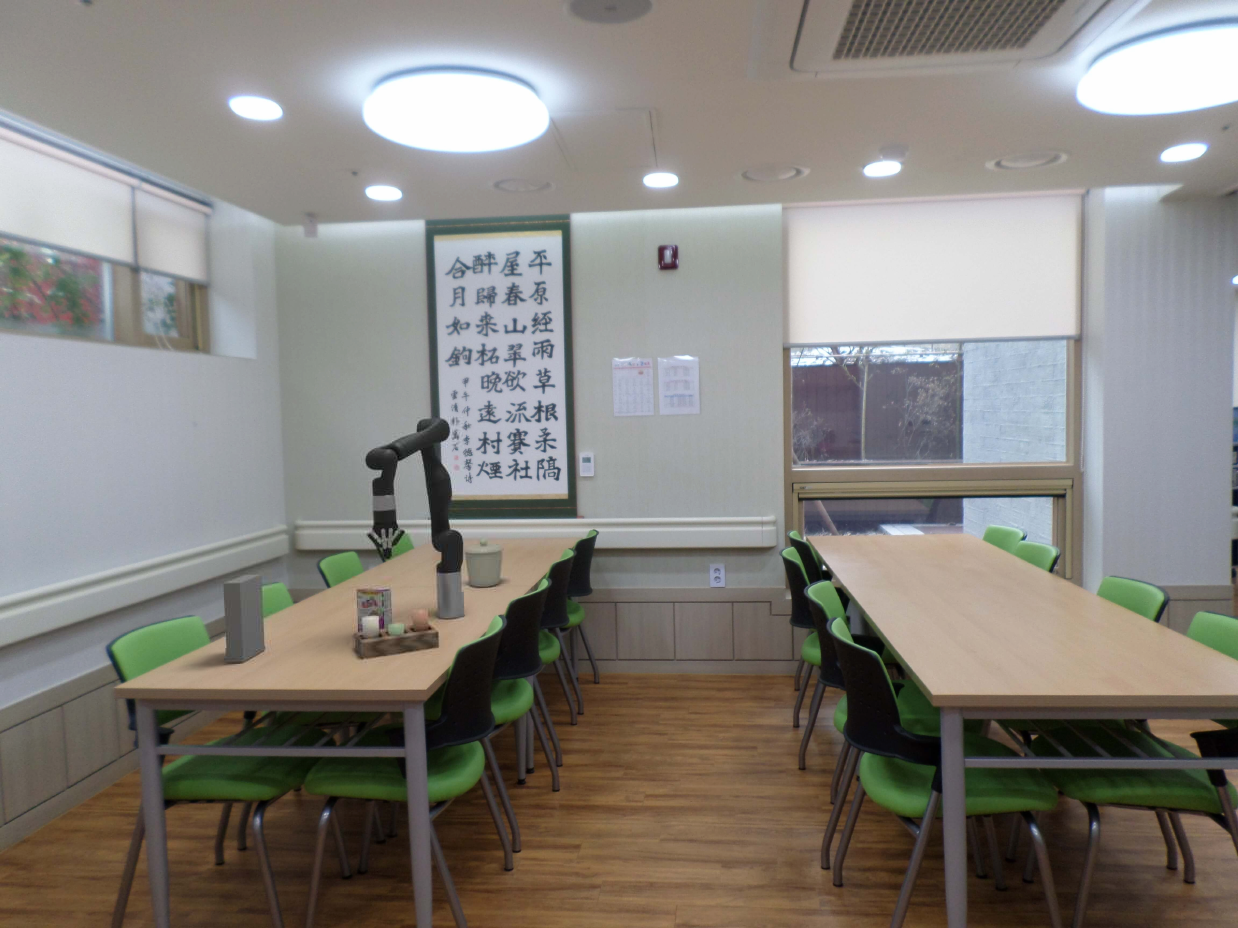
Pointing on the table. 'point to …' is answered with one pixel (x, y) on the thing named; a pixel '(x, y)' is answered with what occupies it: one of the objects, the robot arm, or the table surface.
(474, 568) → the canister
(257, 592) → the upright grey tower
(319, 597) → the table surface
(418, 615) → the pink candle
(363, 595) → the candy bar box
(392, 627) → the green pillar candle
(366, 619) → the button cream
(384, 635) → the button board
